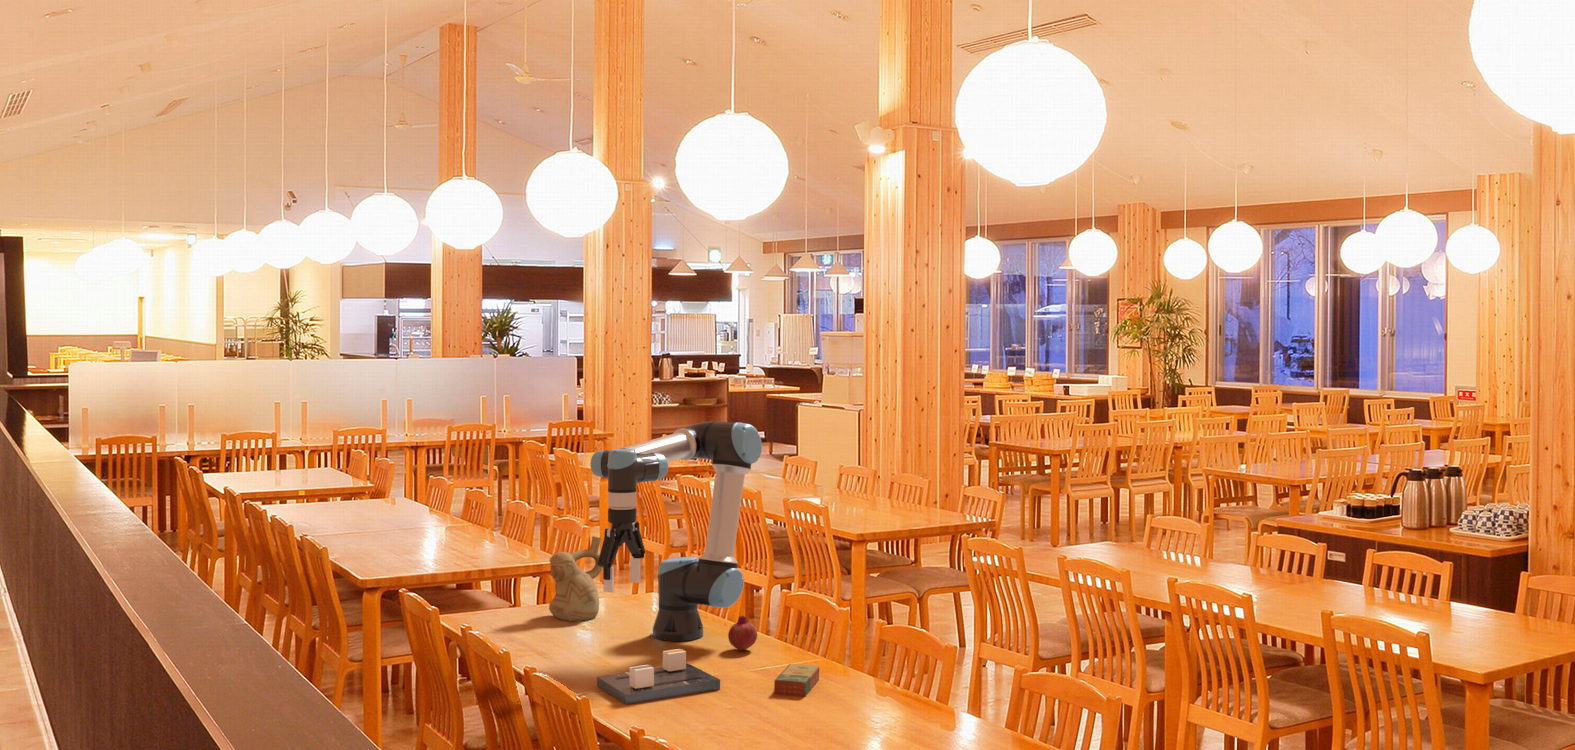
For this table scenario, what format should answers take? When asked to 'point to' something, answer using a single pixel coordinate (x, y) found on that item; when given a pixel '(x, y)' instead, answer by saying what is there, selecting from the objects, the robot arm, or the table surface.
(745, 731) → the table surface
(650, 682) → the fader grey
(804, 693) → the carton
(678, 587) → the robot arm
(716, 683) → the console
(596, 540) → the ceramic vessel
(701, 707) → the table surface
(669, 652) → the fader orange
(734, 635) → the fruit
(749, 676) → the table surface
